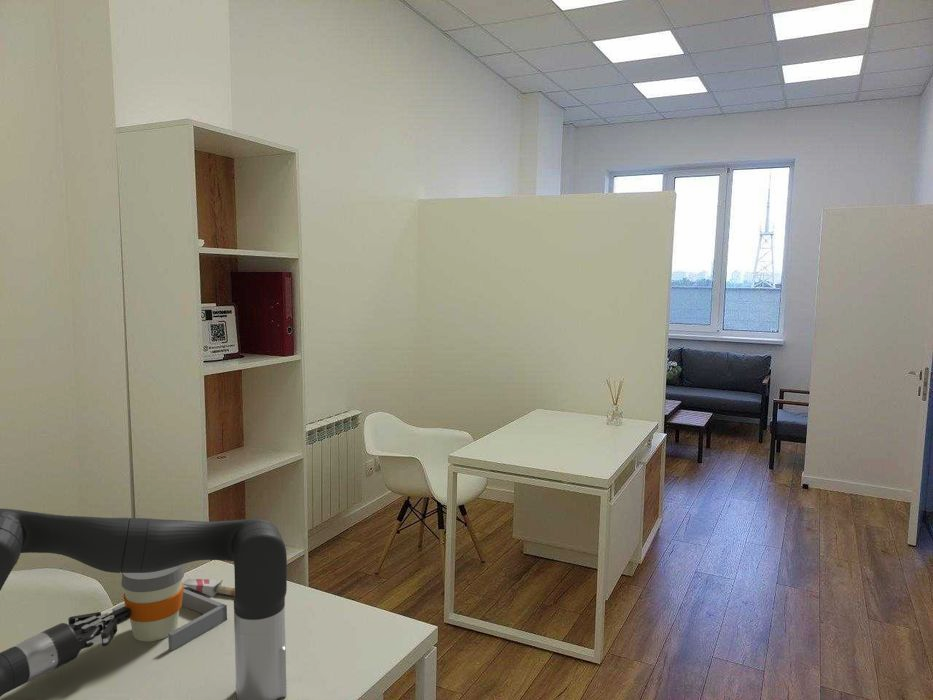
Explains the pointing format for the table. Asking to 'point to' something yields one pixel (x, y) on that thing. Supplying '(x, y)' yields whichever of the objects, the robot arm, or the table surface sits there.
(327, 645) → the table surface
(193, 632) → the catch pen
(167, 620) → the reusable coffee cup
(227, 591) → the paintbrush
